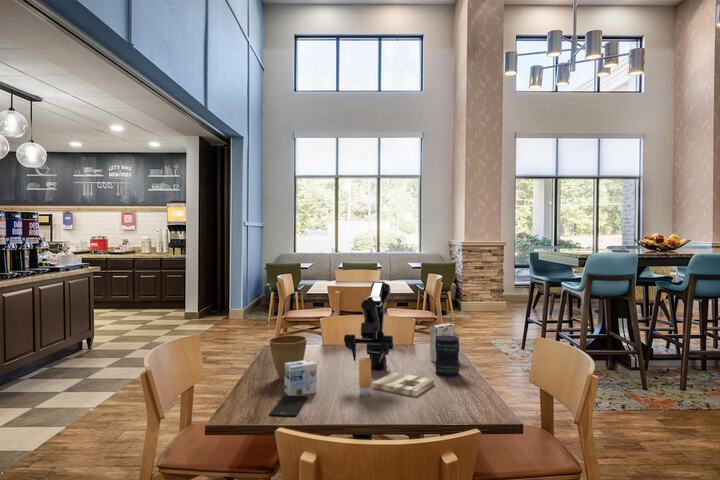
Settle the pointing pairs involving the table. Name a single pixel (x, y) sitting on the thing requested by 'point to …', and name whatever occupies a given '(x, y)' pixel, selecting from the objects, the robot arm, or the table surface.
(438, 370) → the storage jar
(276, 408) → the cell phone
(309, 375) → the light bulb box
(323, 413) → the table surface
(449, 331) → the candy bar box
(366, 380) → the orange rounded cylinder
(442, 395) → the table surface
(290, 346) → the plant pot
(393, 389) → the subfloor panel
